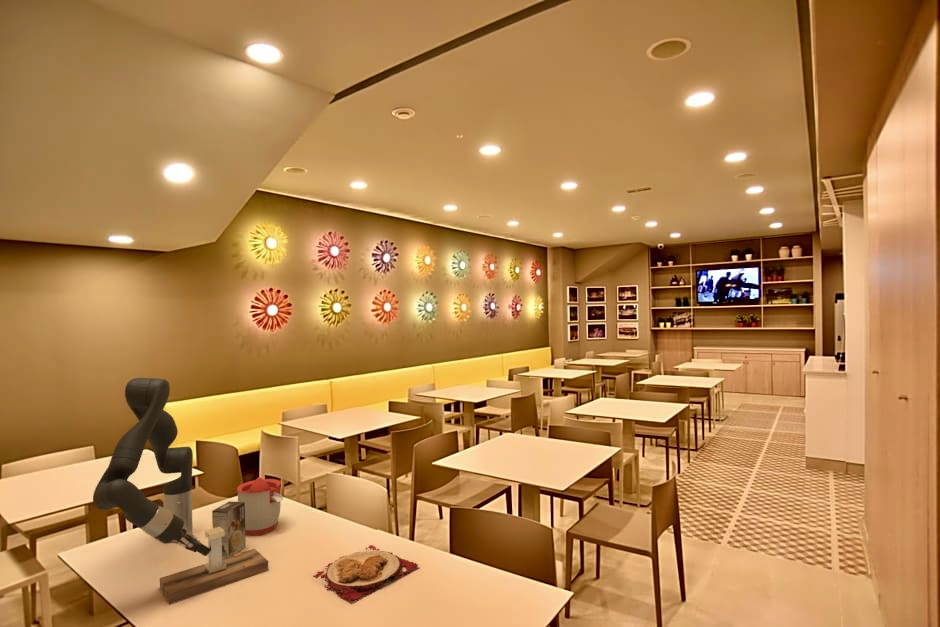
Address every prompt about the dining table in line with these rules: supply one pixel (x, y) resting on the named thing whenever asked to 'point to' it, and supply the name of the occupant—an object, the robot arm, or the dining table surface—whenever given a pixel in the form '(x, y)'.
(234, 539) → the coffee box
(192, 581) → the brown wooden slider base
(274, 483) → the citrus juicer
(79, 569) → the dining table surface
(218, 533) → the slider tab
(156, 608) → the dining table surface
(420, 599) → the dining table surface
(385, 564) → the plate with food
